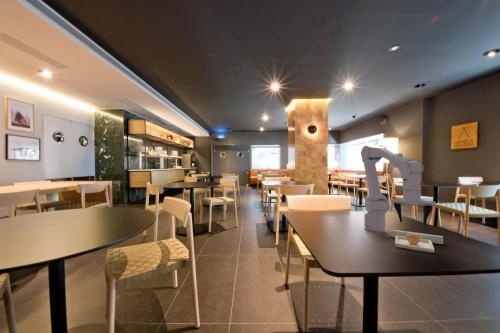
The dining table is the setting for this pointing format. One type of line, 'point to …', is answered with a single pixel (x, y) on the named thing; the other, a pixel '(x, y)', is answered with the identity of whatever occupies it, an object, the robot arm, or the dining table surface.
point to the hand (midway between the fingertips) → (412, 222)
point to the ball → (413, 238)
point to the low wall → (422, 236)
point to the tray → (421, 246)
